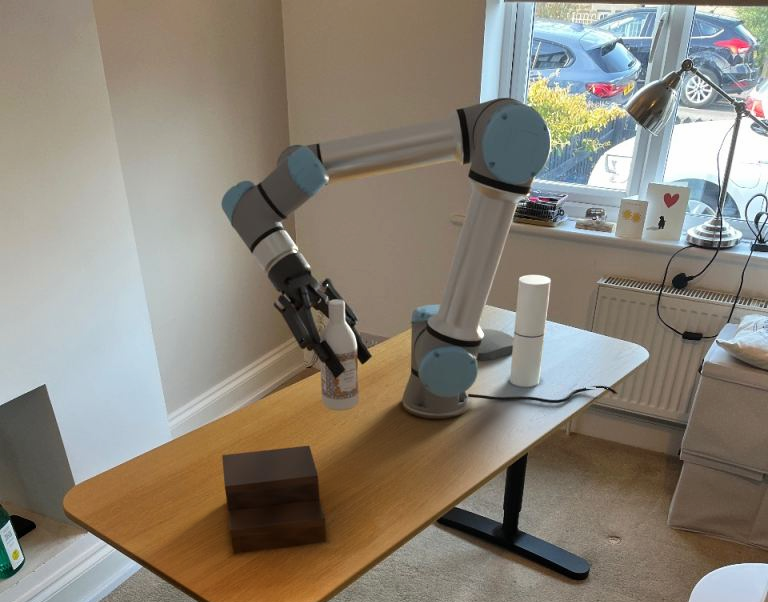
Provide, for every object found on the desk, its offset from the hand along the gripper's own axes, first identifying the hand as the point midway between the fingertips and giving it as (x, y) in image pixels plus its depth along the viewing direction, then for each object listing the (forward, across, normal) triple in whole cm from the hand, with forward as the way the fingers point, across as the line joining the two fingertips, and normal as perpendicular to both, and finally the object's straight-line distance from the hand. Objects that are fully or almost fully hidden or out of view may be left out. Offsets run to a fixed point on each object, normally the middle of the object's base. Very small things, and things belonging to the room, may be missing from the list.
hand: (353, 367), depth 141 cm
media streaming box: (+7, -70, -26) cm, 75 cm away
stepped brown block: (+15, +22, -16) cm, 32 cm away
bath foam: (+4, 0, -9) cm, 9 cm away
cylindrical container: (+20, -58, -12) cm, 63 cm away
